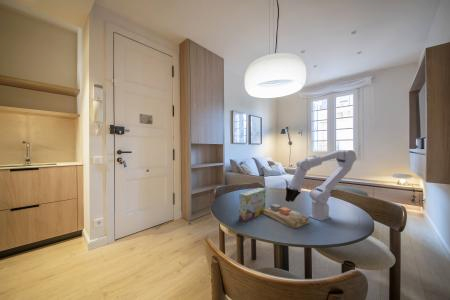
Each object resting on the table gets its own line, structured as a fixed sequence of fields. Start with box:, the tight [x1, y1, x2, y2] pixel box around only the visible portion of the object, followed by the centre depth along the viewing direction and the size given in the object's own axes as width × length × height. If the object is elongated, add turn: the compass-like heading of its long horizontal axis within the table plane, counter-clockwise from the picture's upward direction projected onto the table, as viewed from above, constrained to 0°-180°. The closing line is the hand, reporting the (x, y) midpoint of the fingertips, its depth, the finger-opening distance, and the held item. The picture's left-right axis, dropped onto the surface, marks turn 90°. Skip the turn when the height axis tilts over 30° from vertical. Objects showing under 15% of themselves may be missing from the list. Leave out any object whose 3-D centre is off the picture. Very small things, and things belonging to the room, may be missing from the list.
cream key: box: [289, 210, 302, 220], centre depth 95 cm, size 4×4×4 cm
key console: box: [263, 206, 310, 229], centre depth 102 cm, size 12×22×3 cm, turn 30°
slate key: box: [270, 203, 282, 212], centre depth 108 cm, size 4×4×4 cm
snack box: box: [238, 187, 267, 222], centre depth 106 cm, size 21×6×15 cm, turn 137°
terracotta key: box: [279, 206, 292, 216], centre depth 102 cm, size 4×4×4 cm
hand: (289, 201), depth 102 cm, fingers open, 7 cm apart
